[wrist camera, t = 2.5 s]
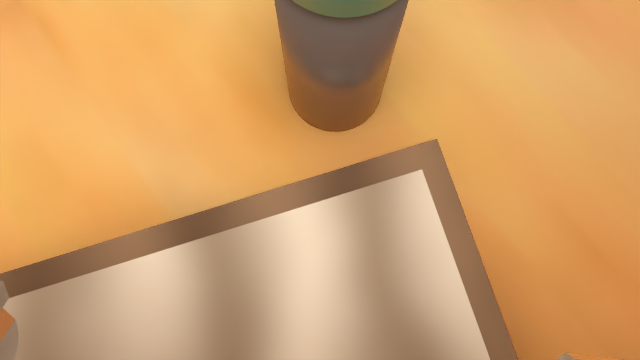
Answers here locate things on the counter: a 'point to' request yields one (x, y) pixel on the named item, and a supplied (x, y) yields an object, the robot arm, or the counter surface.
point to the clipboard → (279, 278)
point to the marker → (337, 56)
